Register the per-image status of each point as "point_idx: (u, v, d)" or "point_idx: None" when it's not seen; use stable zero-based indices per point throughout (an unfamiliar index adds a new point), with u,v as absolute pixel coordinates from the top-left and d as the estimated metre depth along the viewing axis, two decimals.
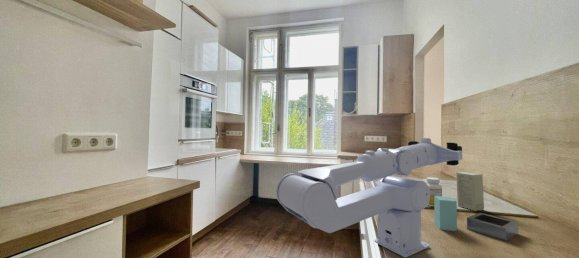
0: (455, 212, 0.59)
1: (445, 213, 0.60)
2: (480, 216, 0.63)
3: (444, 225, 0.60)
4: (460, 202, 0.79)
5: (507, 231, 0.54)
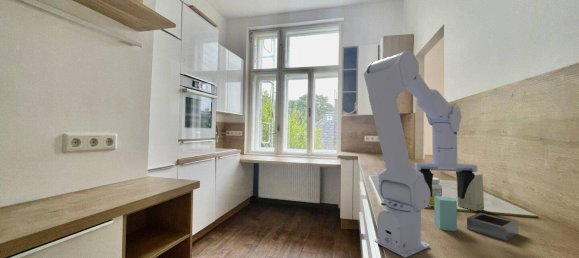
0: (455, 212, 0.59)
1: (445, 213, 0.60)
2: (480, 216, 0.63)
3: (444, 225, 0.60)
4: (460, 202, 0.79)
5: (507, 231, 0.54)
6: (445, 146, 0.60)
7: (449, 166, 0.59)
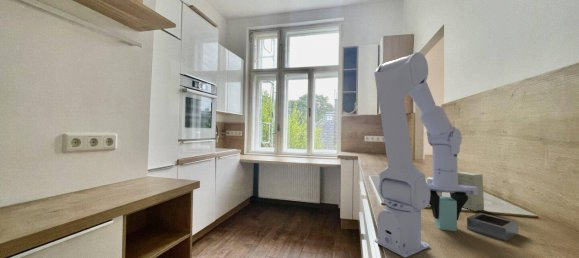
0: (455, 212, 0.59)
1: (445, 213, 0.60)
2: (480, 216, 0.63)
3: (444, 225, 0.60)
4: None
5: (507, 231, 0.54)
6: (445, 168, 0.60)
7: (449, 189, 0.59)
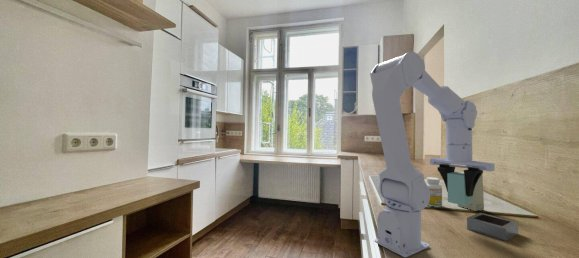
0: (463, 186, 0.59)
1: (453, 186, 0.61)
2: (480, 216, 0.63)
3: (452, 198, 0.61)
4: None
5: (507, 231, 0.54)
6: (459, 142, 0.59)
7: (453, 162, 0.60)
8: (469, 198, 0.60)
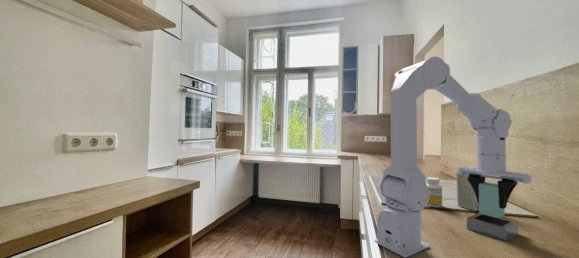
0: (496, 198, 0.57)
1: (485, 198, 0.59)
2: (480, 216, 0.63)
3: (484, 210, 0.59)
4: (460, 202, 0.79)
5: (507, 231, 0.54)
6: (489, 152, 0.58)
7: (486, 172, 0.58)
8: (502, 210, 0.58)
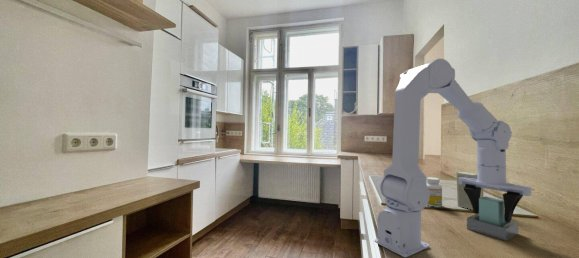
0: (496, 214, 0.57)
1: (485, 213, 0.59)
2: None
3: None
4: (460, 202, 0.79)
5: (507, 231, 0.54)
6: (490, 164, 0.58)
7: (486, 184, 0.58)
8: (502, 225, 0.58)
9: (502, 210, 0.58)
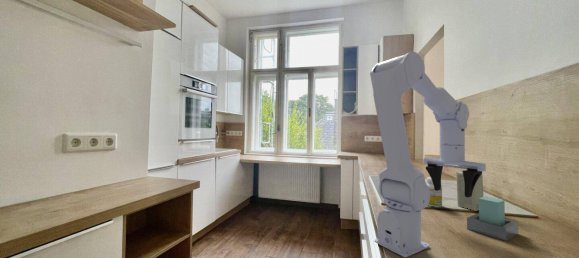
0: (496, 214, 0.57)
1: (485, 213, 0.59)
2: None
3: None
4: (460, 202, 0.79)
5: (507, 231, 0.54)
6: (452, 143, 0.60)
7: (446, 162, 0.61)
8: (502, 225, 0.58)
9: (502, 210, 0.58)
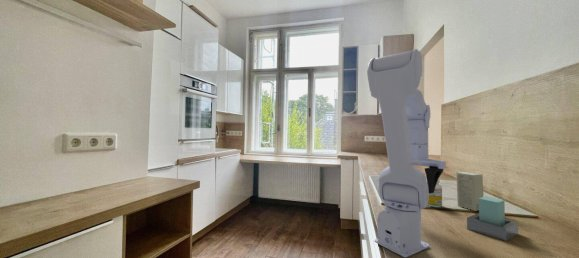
0: (496, 214, 0.57)
1: (485, 213, 0.59)
2: None
3: None
4: (460, 202, 0.79)
5: (507, 231, 0.54)
6: (420, 142, 0.63)
7: (411, 160, 0.64)
8: (502, 225, 0.58)
9: (502, 210, 0.58)
